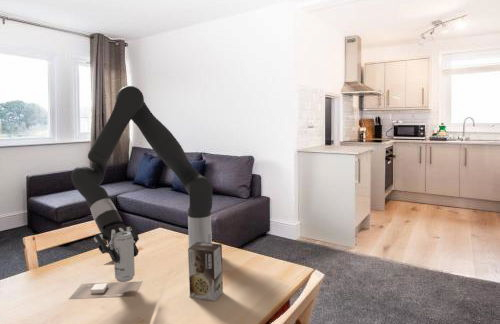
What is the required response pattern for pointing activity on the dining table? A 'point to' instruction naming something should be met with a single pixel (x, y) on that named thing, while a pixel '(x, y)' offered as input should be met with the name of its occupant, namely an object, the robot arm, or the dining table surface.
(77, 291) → the walnut board
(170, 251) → the dining table surface
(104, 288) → the white square tile
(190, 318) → the dining table surface
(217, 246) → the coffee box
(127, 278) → the energy drink can
